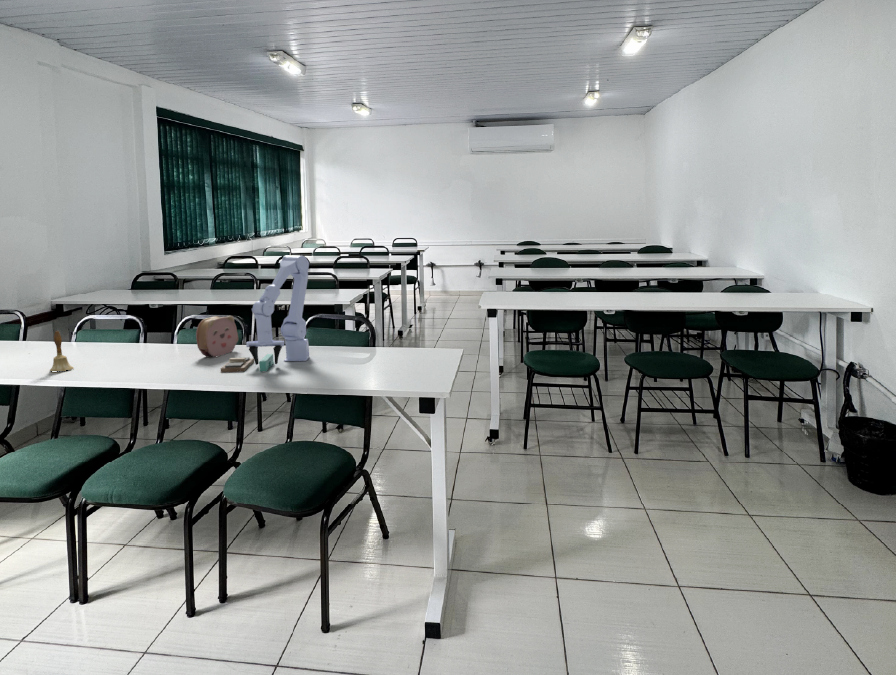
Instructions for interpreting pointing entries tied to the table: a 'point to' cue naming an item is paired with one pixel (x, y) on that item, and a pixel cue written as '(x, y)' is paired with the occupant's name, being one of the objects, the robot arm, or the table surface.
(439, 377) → the table surface
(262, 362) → the mint green bar
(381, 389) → the table surface
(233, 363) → the display stand
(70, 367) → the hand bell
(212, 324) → the face sculpture
